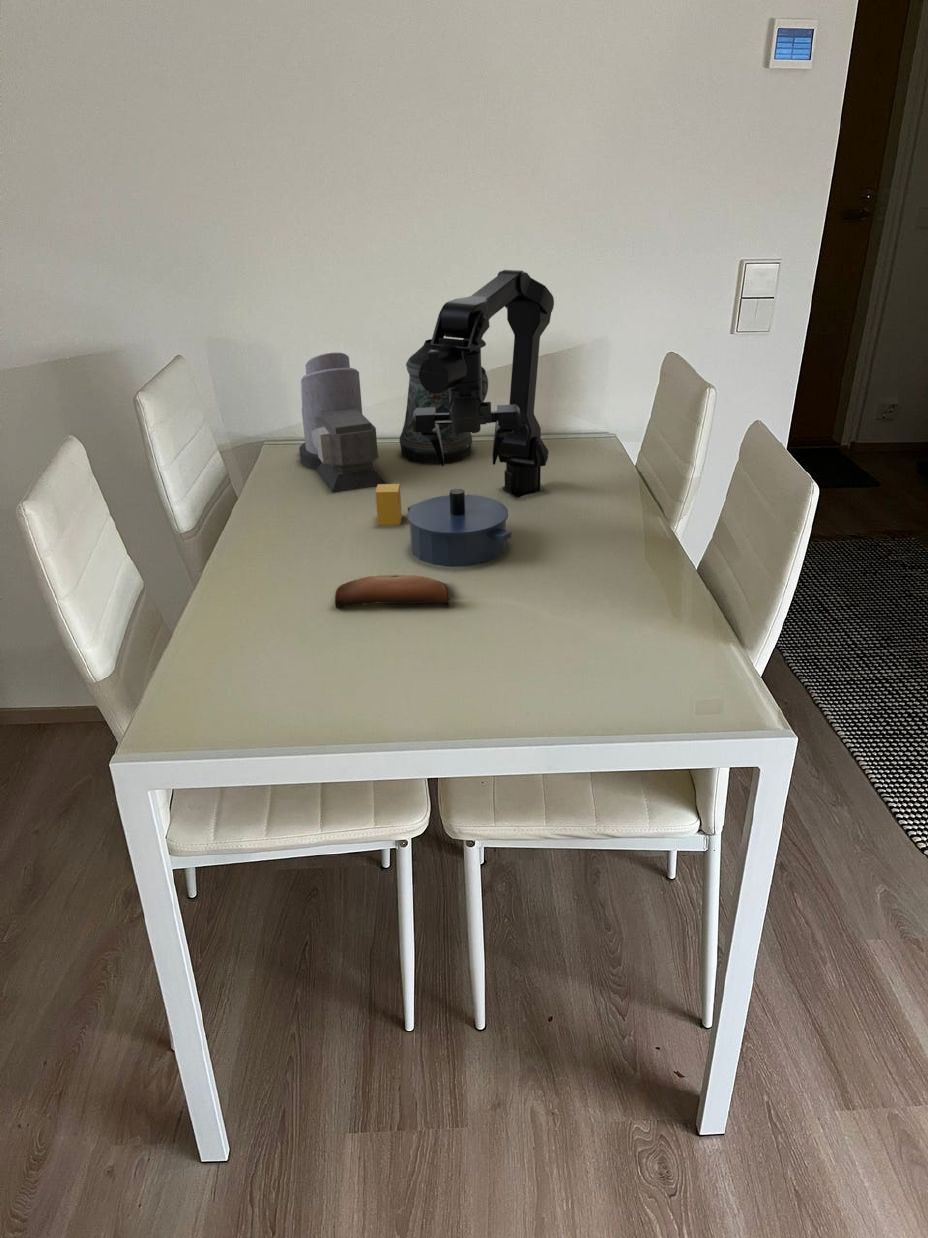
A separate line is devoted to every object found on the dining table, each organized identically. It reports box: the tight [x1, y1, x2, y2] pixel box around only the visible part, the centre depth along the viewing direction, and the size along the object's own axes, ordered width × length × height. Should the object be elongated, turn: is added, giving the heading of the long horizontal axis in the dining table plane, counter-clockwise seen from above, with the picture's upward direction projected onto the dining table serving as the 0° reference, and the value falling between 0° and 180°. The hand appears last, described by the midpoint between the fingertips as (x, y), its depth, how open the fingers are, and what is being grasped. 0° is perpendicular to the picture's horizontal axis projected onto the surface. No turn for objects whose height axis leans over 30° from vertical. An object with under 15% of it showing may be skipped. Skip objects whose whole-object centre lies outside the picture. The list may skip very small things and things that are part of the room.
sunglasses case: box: [334, 574, 450, 608], centre depth 154 cm, size 18×7×7 cm, turn 90°
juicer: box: [298, 352, 388, 493], centre depth 206 cm, size 30×16×24 cm, turn 20°
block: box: [375, 483, 403, 526], centre depth 181 cm, size 4×4×7 cm
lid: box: [406, 488, 509, 535], centre depth 167 cm, size 18×18×5 cm
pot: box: [407, 503, 512, 568], centre depth 169 cm, size 17×22×6 cm
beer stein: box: [399, 338, 489, 465], centre depth 212 cm, size 16×19×25 cm
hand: (468, 464), depth 172 cm, fingers open, 9 cm apart
